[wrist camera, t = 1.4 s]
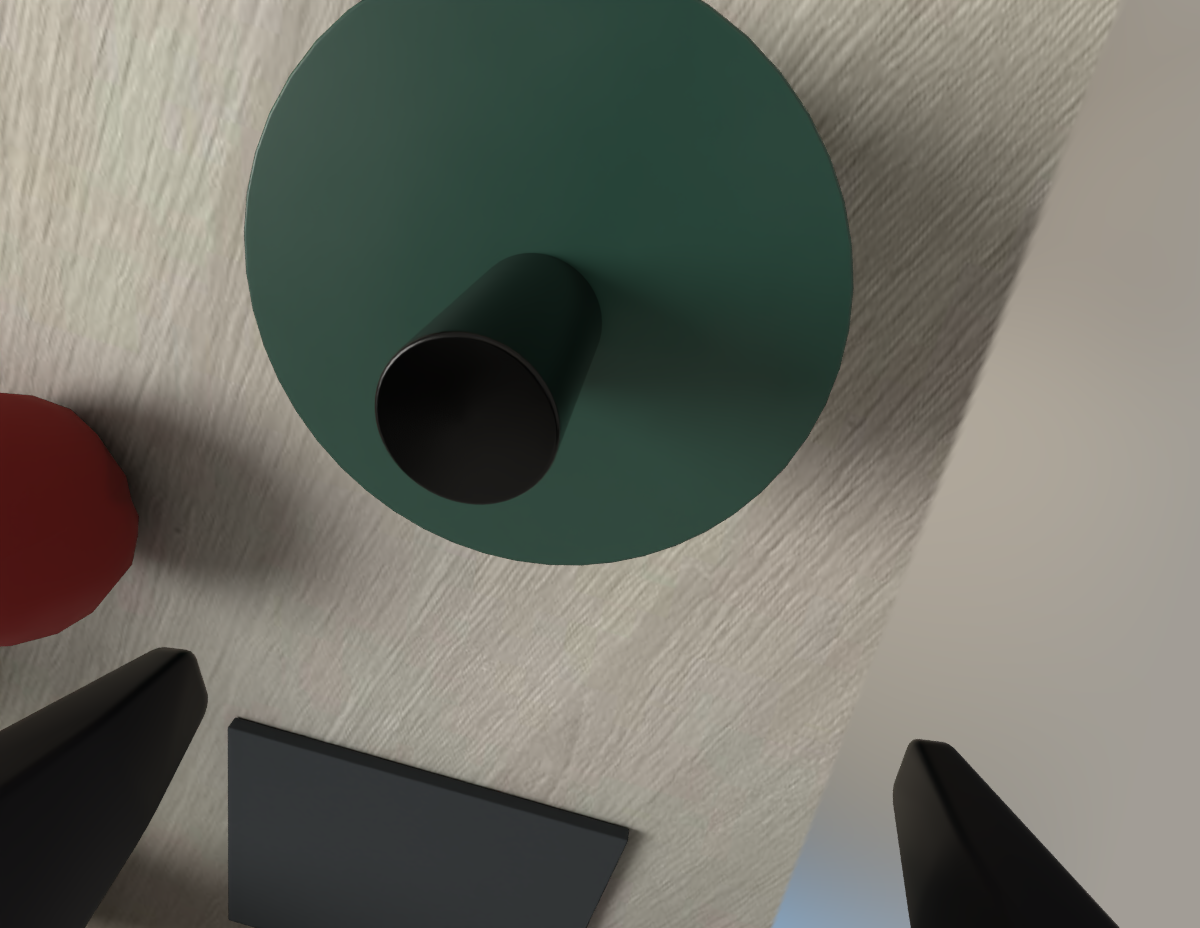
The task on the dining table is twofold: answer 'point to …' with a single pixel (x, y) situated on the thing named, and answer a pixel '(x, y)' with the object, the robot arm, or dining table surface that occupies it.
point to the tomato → (57, 519)
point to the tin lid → (549, 268)
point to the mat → (397, 844)
